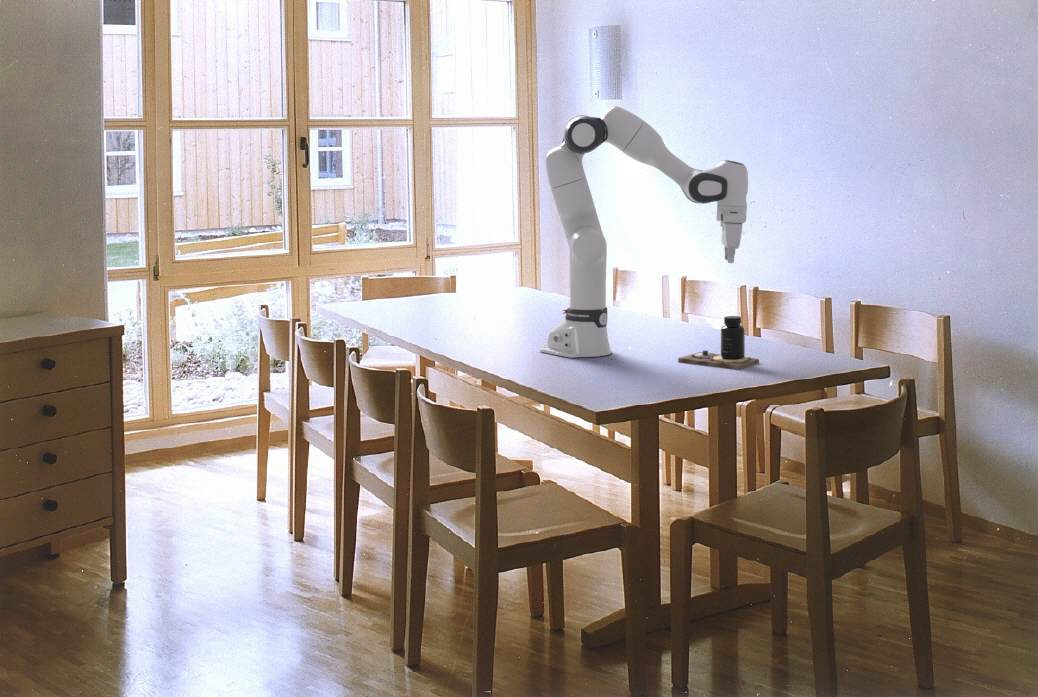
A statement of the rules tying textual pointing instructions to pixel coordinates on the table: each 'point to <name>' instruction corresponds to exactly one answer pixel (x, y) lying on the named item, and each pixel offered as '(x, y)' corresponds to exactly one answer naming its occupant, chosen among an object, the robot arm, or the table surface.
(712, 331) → the table surface
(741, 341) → the supplement bottle
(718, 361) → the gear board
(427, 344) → the table surface
